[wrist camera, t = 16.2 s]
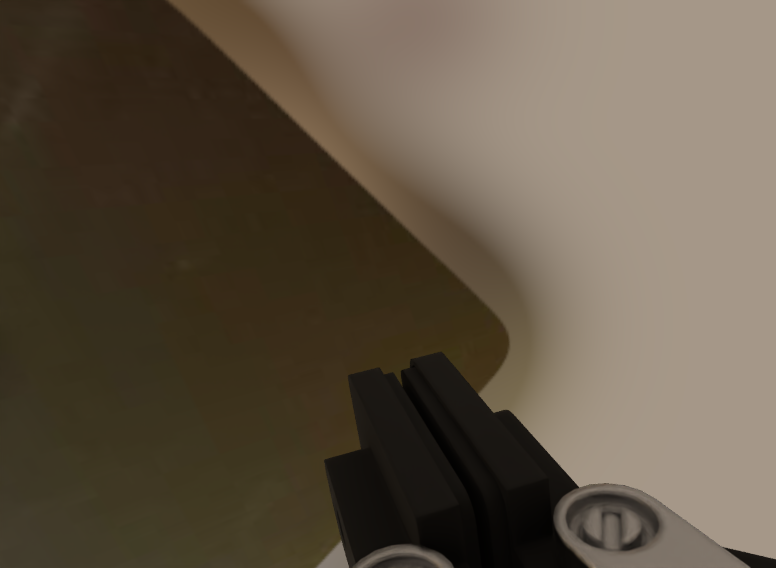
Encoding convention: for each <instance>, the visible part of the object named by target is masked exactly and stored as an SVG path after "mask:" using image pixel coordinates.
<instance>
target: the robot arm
mask: <svg viewBox="0 0 776 568" xmlns="http://www.w3.org/2000/svg"><path fill="white" fill-rule="evenodd" d="M401 379H402V386H403V387H402V386H401V384H400V382H399V381H398V379H397V378H396V376H395V374H394V373H393V372H392V373H388V374H385V375H384V374H383V372H382V371H381V369H380V368H375V369H371V370H367V371H363V372H359V373H355V374H351V375H348V380H349V387H350V392H351V397H352V403H353V408H354V413H355V419H356V424H357V429H358V434H359V440H360V445H361V450H357V451H354V452H350V453H347V454H343V455H339V456H336V457H332V458H328V459H325V460H324V463H325V468H326V473H327V478H328V483H329V488H330V492H331V497H332V502H333V506H334V511H335V515H336V519H337V523H338V527H339V532H340V535H341V539H342V543H343V547H344V551H345V554H346V558H347V561H348V565H349V568H776V559H771V558H767V557H763V556H759V555H755V554H750V553H746V552H741V551H737V550H733V549H728V548H724V547H721V546H720V545H718V544H717V543H716V542H715V541H713V540H712V539H710V538H709V537H708V536H706V535H705V534H703V533H702V532H701V531H699V530H698V529H697V528H695V527H694V526H692V525H691V524H690V523H688V522H687V521H686V520H684V519H682V518H681V517H680V516H679V515H677V514H676V513H675V512H673V511H672V510H670V509H669V508H668V507H666V506H665V505H663V504H662V503H661V502H659V501H658V500H657V499H655V498H653V497H652V496H650V495H648V494H646V493H644V492H643V491H641V490H638V489H634V488H631V487H628V486H625V485H618V484H609V483H604V484H591V485H587V486H584V487H580V488H579V487H578V486H577V484H576V483H575V482H574V481H573V480H572V479H571V478H570V477H569V476H568V474H567V473H566V472H565V471H564V470H563V469H562V468H561V467H560V466H559V465H558V463H557V462H556V461H555V460H554V459H553V458H552V457H551V456H550V454H549V453H548V452H547V451H546V450H545V449H544V448H543V447H542V446H541V445H540V443H539V442H538V441H537V440H536V439H535V438H534V437H533V436H532V434H531V433H530V432H529V431H528V430H527V429H526V428H525V427H524V426H523V424H521V422H520V421H519V420H518V419H517V418H516V417H515V416H514V414H512V413H511V412H510V411H509V410H503V411H499V412H495V413H493V412H492V411H491V409H490V408H489V407H488V406H487V405H486V403H485V402H484V401H483V400H482V399H481V397H480V396H479V395H478V394H477V393H476V392H475V390H474V389H473V388H472V387H471V386H470V384H469V383H468V382H467V381H466V380H465V379H464V377H463V376H462V375H461V374H460V373H459V371H458V370H457V369H456V368H455V367H454V365H453V364H452V363H451V362H450V361H449V360H448V358H447V357H446V356H445V355H444V354H443V353H442V352H438V353H434V354H430V355H426V356H422V357H418V358H414V359H411V361H410V368H408V369H404V370H401Z"/></svg>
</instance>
